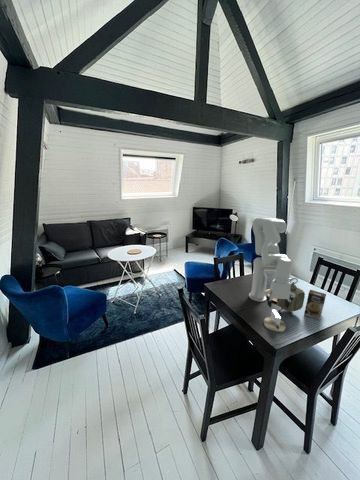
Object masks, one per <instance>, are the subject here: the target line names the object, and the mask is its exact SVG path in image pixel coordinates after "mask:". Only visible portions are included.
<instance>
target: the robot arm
mask: <svg viewBox="0 0 360 480" xmlns="http://www.w3.org/2000/svg"><path fill="white" fill-rule="evenodd" d="M252 231H253V234H254V243H255V246H254V247H255V254H256V255H258V256H261V257H256V258H255V259H253V274H252V275H253V276H252V285H251V292H249V294H248V297H249V298H250V299H251V300H252V301H254V302H259V303H260V302H266V301H267V303H266V304H267V306H268V307H269V308H272V303H273V302H272V300H274V299H276V300H277V299H287V300H286V301H285V307H286V308H288V307H289V304H290V302H291V301H292V300H293V299H294V297H295V296H296V295H295V294H294V293H292V292H290V283H291V282H290V280H292V279H293V278H292V277H291V273H292V267H293V261H292V260H291V259H290V258H289V257H288V255H287V254H283V253H280V247H279V243H280V242H281V236H280V233H282V234H283V233H285V232H286V231H287V223H286V221H284V219H281V218H275V217H257V218H255V219H253V220H252ZM266 272H274V273H275V274H274V279H272V282H271V285H270V288H269V290H266V289H267V281H268V275H267V273H266ZM292 281H293V280H292ZM290 294H291V295H292V296H291V297H290Z"/></svg>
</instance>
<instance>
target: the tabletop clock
mask: <svg viewBox="0 0 360 480" xmlns="http://www.w3.org/2000/svg"><path fill="white" fill-rule="evenodd" d="M293 280H296V281H295V282H294V281H293ZM298 281H299V280H298V278H297V277H293V278H292V280H290V292H292V293H294V294H295V295H296V296H295V297H294V299H293V300H292V301H291V302H290V304H289V307H288V308H286V307H285V301H286V300H287V299H276V306H278V307H279V308H280V309H278V311H277V313H281V311H282V310H284V311H285V312H288V313H289V314H290V315H291V316H292V315H293V314H294V313H293V312H296V311H299V310H301V309H302V308H303V306H304V303H305V296H306V294H305V291H304V290H303V289H301V288H299V287H297V286H296V284H297V283H298ZM291 282H292V283H291ZM291 296H292V295H291V294H290V297H291Z"/></svg>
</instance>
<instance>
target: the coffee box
mask: <svg viewBox="0 0 360 480" xmlns="http://www.w3.org/2000/svg"><path fill="white" fill-rule="evenodd" d="M307 295H308V296H307V300H306V304H305V310H304V314H303V315H304V316H306V317H310V318H313V319H316V320H319V321H320V320H321V318H322V313H323V309H324V305H325V301H326V297H327V294H326V293H323V292H321V291H316V290H314V289H309V291H308V294H307Z"/></svg>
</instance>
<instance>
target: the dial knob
mask: <svg viewBox="0 0 360 480" xmlns="http://www.w3.org/2000/svg"><path fill="white" fill-rule="evenodd" d="M270 317H271V320H272V322H273V324H274V325H275V327H277V328H278V329H279V327H280V321H281V320H282V317H281V316H280V314H279V312H278V311H277V310H276V309H271V313H270Z"/></svg>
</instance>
